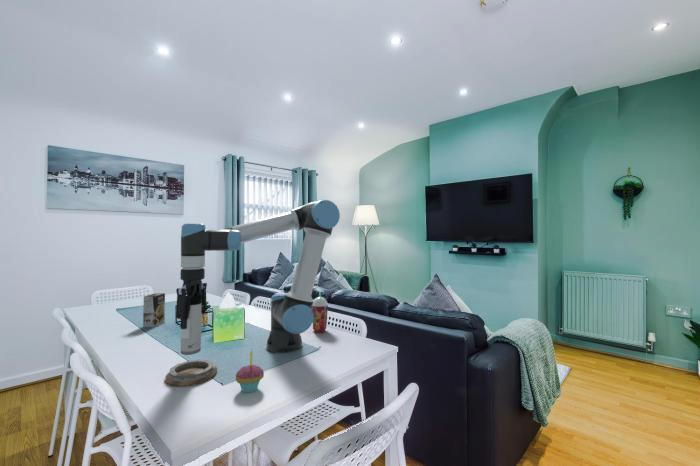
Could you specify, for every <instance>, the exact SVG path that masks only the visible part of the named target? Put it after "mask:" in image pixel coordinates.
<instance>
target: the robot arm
mask: <svg viewBox="0 0 700 466" xmlns="http://www.w3.org/2000/svg"><path fill="white" fill-rule="evenodd" d="M340 214H341V213H340V210H339V208H338V206H337V204H335V202H333V201H331V200H329V199H319V200H317V201H311V202H308V203H306V204H304V205H301V206H298V207H296V208H292V209H290V211H289V212H284V213H281V214H277V215H273V216H269V217H265V218H262V219H257V220H253V221H250V222H245V223H242V224H237V225H233V226H231V227H225V228H222V229H221V228H220V229H208V228H206V224H205V223H184V224H183V225H181V233H180V268H181V269H180V272H179V273H180V275H179V276H180V280H181V281H183V283H182V286H181V287H180V288H179V287H178V288H176V289H175V291H176V292H175V293H176V309H175V319H176V320H180V339H181V338H186V339H189V338H190V319H189V318H188V316H189V312H190V305H191V298H193V296H196V295H198V294H202V296H201V333H203V314H205V313H206V311H207V288H208V287H207V286H208V283H207V282H203V281H202V280H204V279H205V272H206V269H205V268H204V267H206V251H207V252H208V251H212V252H213V251H217V252H218V251H219V252H221V251H222V252H223V251H224V252H225V251H229V252H232V251H239V250H240V249H241V247H242V244H244V243H247V242H251V241H256V240H258V239H262V238H266V237H269V236H273V235H277V234H280V233H285V232H288V231H292V230H295V231H301V230H304V232H305V234H304V235H305V236H304V239H303V243H302V246H301V249H300V254H299V257H298V262H297V263H296V264H297V265H296V269H295V273H294V277H293V279H292V283H291V286H290V290H289V291H288V292H285V293H277V294H276V293H275V294H272V296H271V300H270V304H271V305H270V331H269V335H268V338H267V340H266V349H267V350H268V351H269V352H272V353H280V354H281V353H283V354H284V353H291V352H294V351H295V352H296V351H298V350H299V349H301V348H302V346H303V339H302V336H301V334H303V333H305V332H306V331H308V329H310V327H311V326H312V325H313V312H312V305H313V301H314V298H313V297H312V293H313V290H314V285H315V282H316V279H317V275H318V270H319V267H320V263H321V259H322V255H323V251H324V247H325V244H326V240H327V239H328V238H329V237H331V235H332V232H333V228H334V227H336V226H337V225H338V223H339V221H340V217H341V215H340ZM186 297H189V298H187V299H186Z"/></svg>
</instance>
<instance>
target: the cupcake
mask: <svg viewBox="0 0 700 466" xmlns="http://www.w3.org/2000/svg"><path fill="white" fill-rule="evenodd" d="M253 355H254V353H253V348H251V349H250V355H249V358H250V359H249V365H245V366H243V367H241V368H240V369H238V371H237V372H236V374H235V381H236V382H237V383H238V384H239V385H240V389H241V391H242V392H243V393H247V394H248V393H253V392H255V391H257V389H258V387H259V383H260V381H261V380H262V379H264V377H265V376H264V374H265V372H264V370H263V368H261V366H259V365H256V364H255V365H254V364H253Z"/></svg>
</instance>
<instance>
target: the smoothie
mask: <svg viewBox="0 0 700 466" xmlns="http://www.w3.org/2000/svg"><path fill="white" fill-rule="evenodd" d="M321 292H322V291H319V292H318V293H319V294H318V295H319V296H317V297H315V298H313V305H312V309H311V310H312V312H313V322H312V329H313V331H314V333H319V334H320V333H325V332H326V329H327V323H328V311H329V309H328V307H329V303H328V301H327V300H326V298H325V297H323V296H322V295H321Z"/></svg>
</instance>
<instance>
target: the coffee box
mask: <svg viewBox="0 0 700 466" xmlns="http://www.w3.org/2000/svg"><path fill="white" fill-rule="evenodd" d="M142 305H143V306H142V307H143V310H142V311H143V314H142V315H143V316H142V322H143V323H142V327H143V328H156V327H158V326H160V325H163V324H165V321H166V320H165V319H166V317H165V316H166V313H165V312H166V306H165V305H166V293H158V292H157V293H151V294H148V295H145V296H143V304H142Z"/></svg>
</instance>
